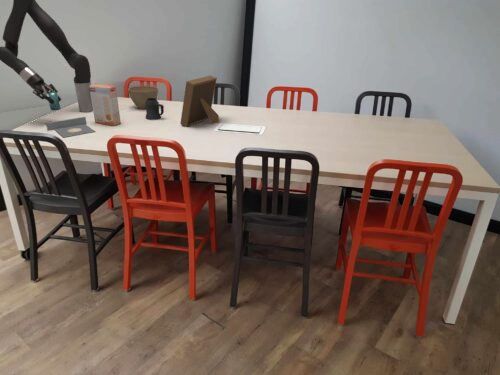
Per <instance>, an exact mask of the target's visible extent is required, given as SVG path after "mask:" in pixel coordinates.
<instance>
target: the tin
mask: <svg viewBox="0 0 500 375" xmlns="http://www.w3.org/2000/svg"><path fill="white" fill-rule="evenodd" d="M47 94H48V96H49V97H51V98H52V99H53V100H54V101H55V102H54V104H51V103H50V102H49V101H48V104H49V109H50V110H51V111H59V110H61V109H62V108H61V103H60V102H59V99H58V96H59V95H58V92H50V91H49V92H48V93H47Z"/></svg>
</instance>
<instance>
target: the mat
mask: <svg viewBox="0 0 500 375" xmlns="http://www.w3.org/2000/svg"><path fill="white" fill-rule="evenodd" d="M53 131H55V132H56V133H57V134H58V135H59V136H60V137H62V138H63V139H65V138H70V137H71V138H72V137H75V136H80V135H81V136H82V135H86V134H90V133H91V134H92V133H96V130H94V129H93V128H92V127H90V126H88V125H87V124H83V125H77V126H71V127H65V128H59V129H54V130H53Z"/></svg>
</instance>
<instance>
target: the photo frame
mask: <svg viewBox="0 0 500 375" xmlns="http://www.w3.org/2000/svg"><path fill="white" fill-rule="evenodd" d="M217 79H218V77H215V76H212V75H207V76H203V77H199V78H194V79H191V80H186V81H185V82H186V83H185V88H184V89H185V90H184V96H183V103H182V109H181V110H182V111H181V117H180V123H179V124H180V125H182V126H183V127H186V128H187V127H190V126H193V125H195V124H198V123H200V122H202V121H205V120H208V119H209V121H210V124H213V125H214V124H219V123H220V119H219V118H220V117H219V114H218V113H217V112H216V111H215V109H213V108H212V105H213V101H214V95H215V90H216V84H217Z"/></svg>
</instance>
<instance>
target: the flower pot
mask: <svg viewBox="0 0 500 375" xmlns="http://www.w3.org/2000/svg"><path fill="white" fill-rule="evenodd" d="M127 90H128V94H129V98H130V99H131V101H132V102H133V104H134V105H135V106H136V107H137V108H138V109H140V110H146V105H145V102H146V100H147V98H156V99H157V98H158V93H159V88H158V87H157V86H151V85H137V86H132V87H129V88H128V89H127Z"/></svg>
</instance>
